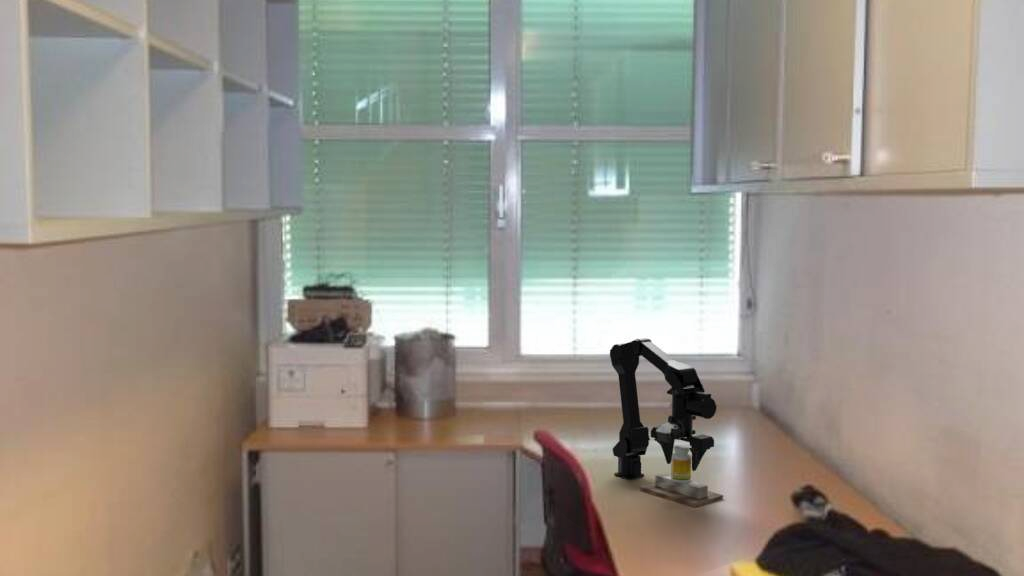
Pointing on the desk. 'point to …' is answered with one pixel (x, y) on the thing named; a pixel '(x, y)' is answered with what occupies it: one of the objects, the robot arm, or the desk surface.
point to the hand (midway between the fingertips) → (681, 467)
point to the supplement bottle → (681, 464)
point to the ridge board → (680, 496)
